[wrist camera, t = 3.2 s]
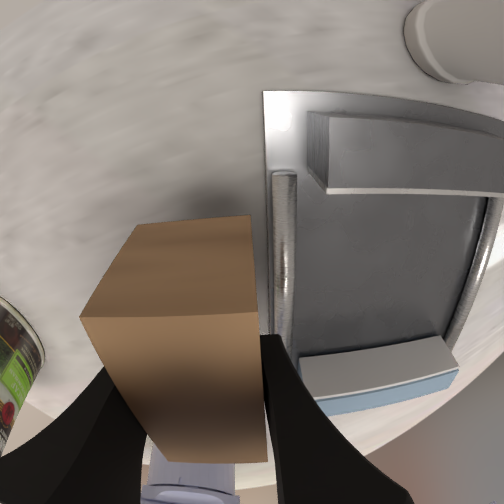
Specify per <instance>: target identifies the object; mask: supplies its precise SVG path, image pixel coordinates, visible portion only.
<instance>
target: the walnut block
mask: <svg viewBox="0 0 504 504" xmlns="http://www.w3.org/2000/svg"><path fill="white" fill-rule="evenodd" d="M79 318H80V320H81V322H82V324H83V326H84V328H85V330H86V332H87V334H88V336H89V338H90V340H91V342H92V344H93V346H94V348H95V350H96V352H97V354H98V356H99V357H100V359H101V361H102V363H103V365H104V367H105V368H106V370H107V372H108V374H109V375H110V377H111V379H112V380H113V382H114V384H115V385H116V387H117V389H118V390H119V392H120V394H121V395H122V397H123V398H124V400H125V402H126V403H127V405H128V406H129V408H130V409H131V411H132V412H133V414H134V415H135V417H136V418H137V420H138V421H139V423H140V424H141V426H142V427H143V428H144V430H145V431H146V433H147V434H148V436H149V437H150V438H151V440H152V441H153V442H154V444H155V445H156V446H157V448H158V449H159V450H160V452H161V453H162V454H163V456H164V457H165V458H166V459H167V461H168V462H182V463H208V464H232V463H258V462H268V456H267V441H266V425H265V410H264V395H263V380H262V365H261V350H260V335H259V320H258V306H257V293H256V280H255V268H254V255H253V242H252V230H251V217H250V215H242V216H229V217H217V218H205V219H193V220H182V221H171V222H161V223H151V224H141V225H137V226H136V228H135V229H134V231H133V232H132V234H131V235H130V236H129V238H128V239H127V241H126V242H125V244H124V245H123V247H122V248H121V250H120V251H119V253H118V254H117V256H116V257H115V259H114V260H113V262H112V264H111V265H110V267H109V268H108V270H107V271H106V273H105V275H104V276H103V278H102V279H101V281H100V283H99V284H98V286H97V288H96V289H95V291H94V292H93V294H92V296H91V297H90V299H89V301H88V303H87V304H86V306H85V308H84V309H83V311H82V313H81V315H80V316H79Z"/></svg>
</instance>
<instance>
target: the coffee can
mask: <svg viewBox="0 0 504 504" xmlns="http://www.w3.org/2000/svg"><path fill="white" fill-rule="evenodd" d="M44 360H45V356H44V350H43V347H42V345H41V343H40V341H39V339H38V337H37V335H36V333H35V332H34V331H33V329H32V328H31V326H30V325H29V324H28V322H27V321H26V320H25V319H24V318H23V317H22V316H21V314H20V313H19V312H18V311H17V310H15V309H14V308H13V307H12V306H11V305H10V304H9V303H8V302H7V301H5V300H4V299H2V298H1V297H0V458H1V455H2V452H3V450H4V448H5V445H6V442H7V440H8V437H9V434H10V432H11V429H12V427H13V425H14V422H15V420H16V418H17V416H18V413H19V411H20V409H21V407H22V405H23V402H24V400H25V398H26V396H27V394H28V392H29V390H30V388H31V386H32V384H33V382H34V380H35V378H36V376H37V374H38V372H39V370H40V369H41V368H42V366H43V364H44Z"/></svg>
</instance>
